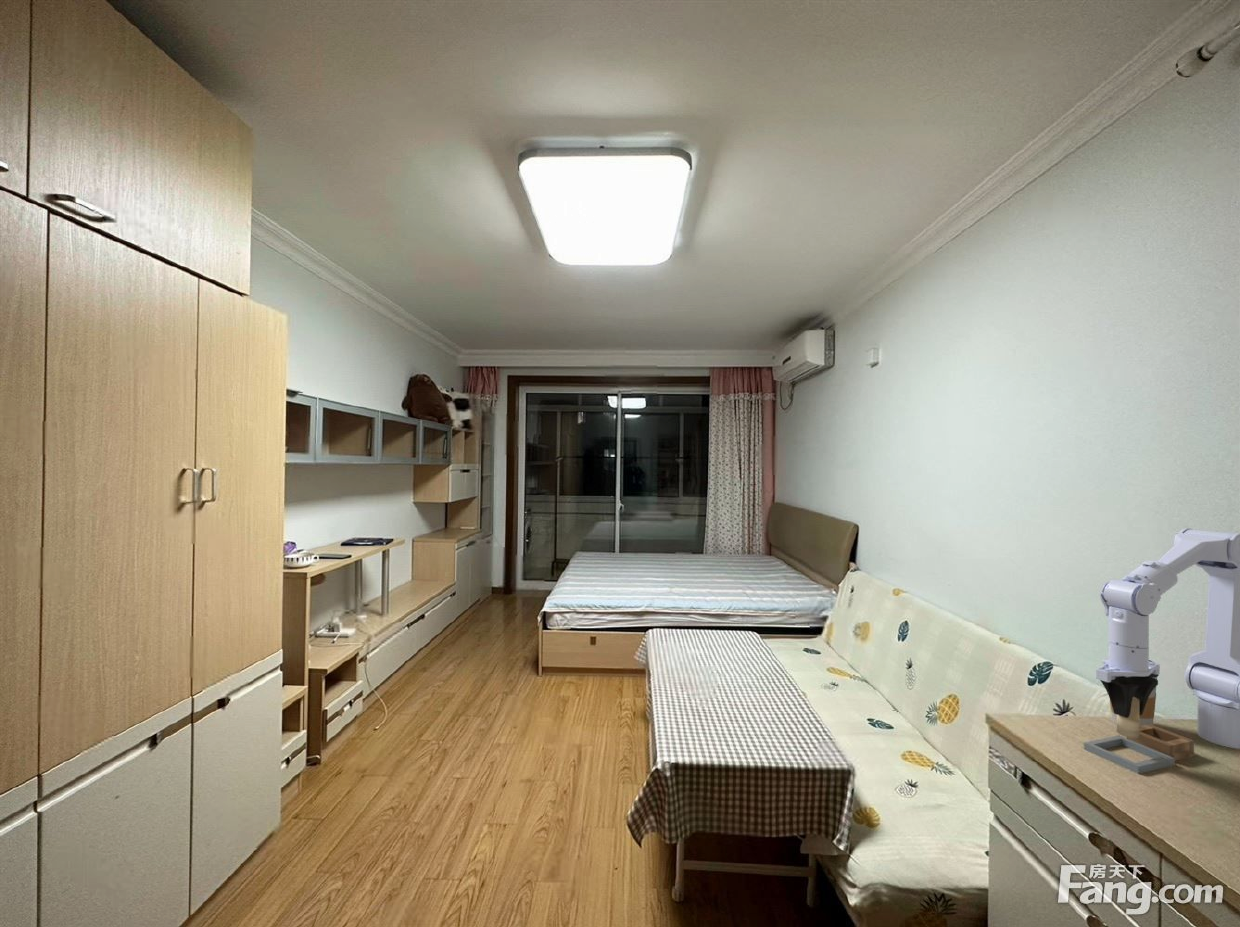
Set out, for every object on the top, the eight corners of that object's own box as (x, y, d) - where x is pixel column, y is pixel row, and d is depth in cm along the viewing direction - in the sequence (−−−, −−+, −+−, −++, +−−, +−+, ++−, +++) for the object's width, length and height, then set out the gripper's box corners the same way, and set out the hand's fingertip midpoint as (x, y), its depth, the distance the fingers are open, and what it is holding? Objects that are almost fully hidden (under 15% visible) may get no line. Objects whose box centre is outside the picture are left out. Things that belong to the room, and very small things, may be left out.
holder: (1150, 743, 113) (1150, 724, 113) (1193, 761, 106) (1193, 740, 106) (1126, 748, 111) (1126, 729, 111) (1169, 767, 104) (1169, 746, 104)
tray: (1119, 746, 112) (1119, 735, 112) (1174, 770, 103) (1174, 758, 103) (1084, 754, 109) (1084, 742, 109) (1138, 779, 100) (1138, 766, 100)
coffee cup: (1169, 740, 115) (1169, 668, 115) (1122, 736, 116) (1122, 665, 116) (1140, 721, 123) (1140, 654, 123) (1097, 718, 124) (1097, 651, 124)
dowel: (1124, 729, 108) (1124, 693, 108) (1143, 736, 105) (1143, 700, 105) (1112, 731, 107) (1112, 695, 107) (1132, 739, 104) (1132, 702, 104)
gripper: (1129, 634, 112) (1129, 700, 112) (1078, 640, 108) (1078, 709, 108) (1173, 645, 105) (1172, 716, 105) (1120, 652, 101) (1120, 726, 101)
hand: (1128, 714), depth 106 cm, fingers closed on dowel, 3 cm apart
